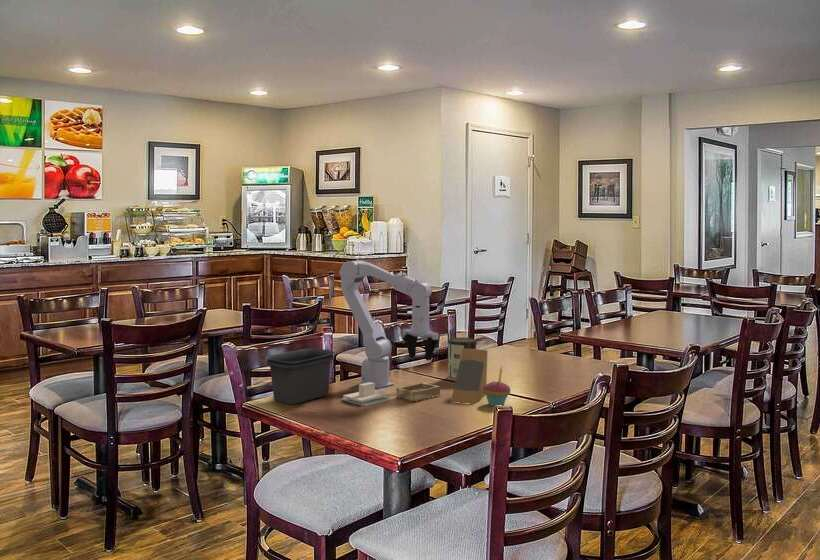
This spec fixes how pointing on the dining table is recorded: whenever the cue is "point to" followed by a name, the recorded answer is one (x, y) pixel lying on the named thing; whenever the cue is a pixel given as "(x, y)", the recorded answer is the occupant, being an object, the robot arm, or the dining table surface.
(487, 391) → the cupcake
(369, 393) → the lid
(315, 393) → the storage bin
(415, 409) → the dining table surface
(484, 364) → the sandwich container
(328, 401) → the dining table surface
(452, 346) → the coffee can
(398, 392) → the box
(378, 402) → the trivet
